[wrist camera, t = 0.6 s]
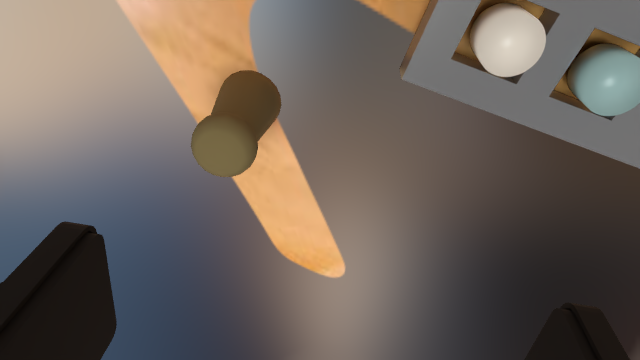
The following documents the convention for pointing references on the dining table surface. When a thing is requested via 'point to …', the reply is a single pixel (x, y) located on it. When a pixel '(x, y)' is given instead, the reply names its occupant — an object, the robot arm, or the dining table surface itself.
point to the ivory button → (507, 39)
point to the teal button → (606, 79)
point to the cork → (236, 124)
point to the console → (530, 71)
